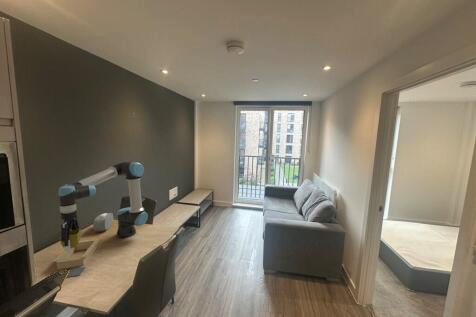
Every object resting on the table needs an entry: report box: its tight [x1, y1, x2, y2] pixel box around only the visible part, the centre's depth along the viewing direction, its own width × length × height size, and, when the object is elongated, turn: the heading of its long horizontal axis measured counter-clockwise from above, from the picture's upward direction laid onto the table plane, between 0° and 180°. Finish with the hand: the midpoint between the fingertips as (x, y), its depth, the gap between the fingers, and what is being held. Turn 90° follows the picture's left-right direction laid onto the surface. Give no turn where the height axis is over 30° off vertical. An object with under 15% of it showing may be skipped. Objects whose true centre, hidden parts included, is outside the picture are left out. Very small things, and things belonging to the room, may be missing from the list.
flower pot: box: [59, 228, 82, 249], centre depth 125 cm, size 9×9×9 cm
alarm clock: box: [92, 212, 114, 232], centre depth 189 cm, size 21×10×13 cm, turn 14°
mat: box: [65, 266, 86, 279], centre depth 127 cm, size 9×8×1 cm
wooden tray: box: [52, 238, 100, 270], centre depth 143 cm, size 19×28×6 cm
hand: (71, 246), depth 125 cm, fingers closed on flower pot, 9 cm apart
